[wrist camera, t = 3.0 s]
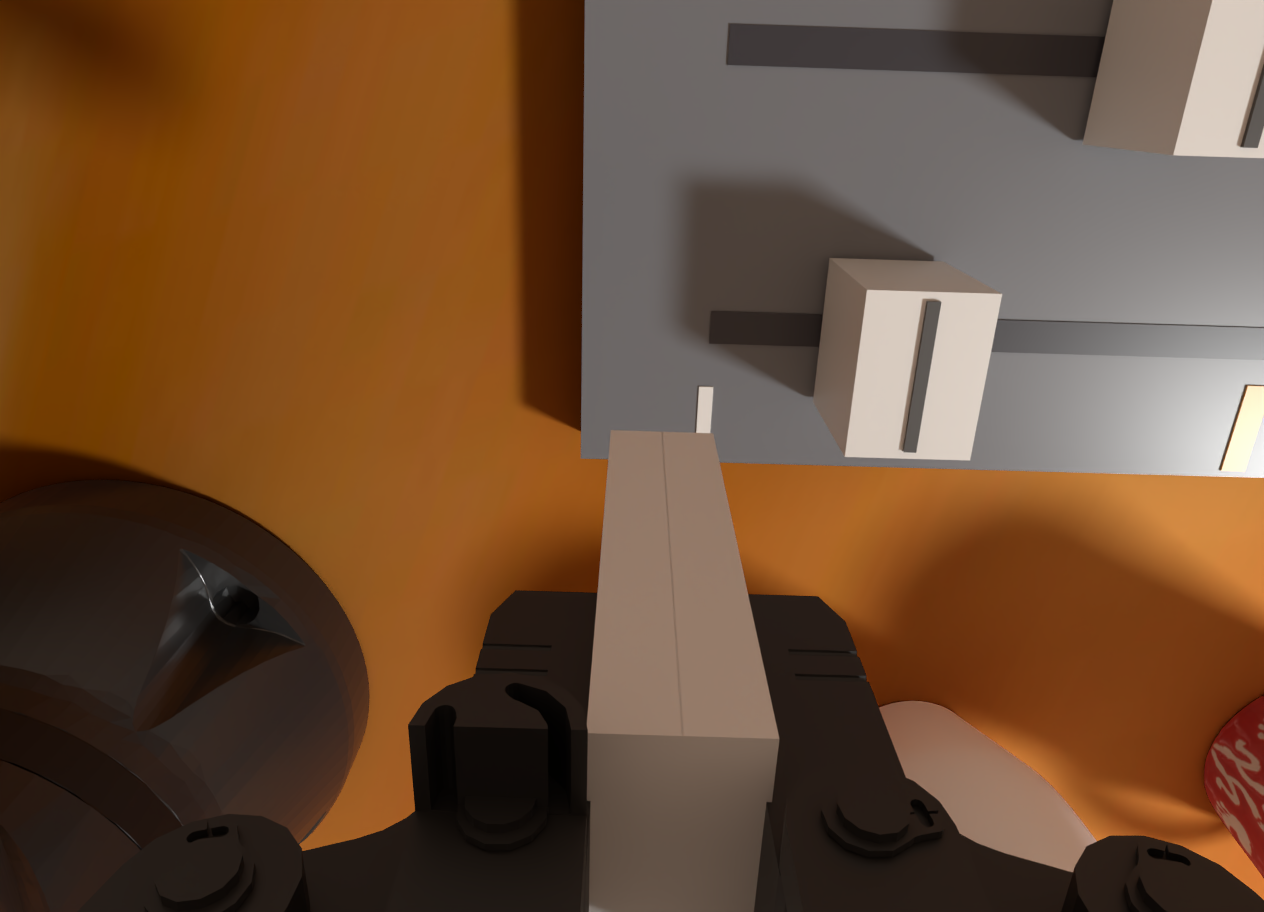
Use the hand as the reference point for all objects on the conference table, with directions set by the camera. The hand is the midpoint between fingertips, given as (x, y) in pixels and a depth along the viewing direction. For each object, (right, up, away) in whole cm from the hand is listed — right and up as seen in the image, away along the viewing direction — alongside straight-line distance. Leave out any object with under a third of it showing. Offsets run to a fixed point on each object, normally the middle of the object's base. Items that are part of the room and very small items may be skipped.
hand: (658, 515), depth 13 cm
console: (+11, +8, +11) cm, 18 cm away
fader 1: (+6, +4, +11) cm, 13 cm away
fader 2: (+12, +11, +8) cm, 18 cm away
